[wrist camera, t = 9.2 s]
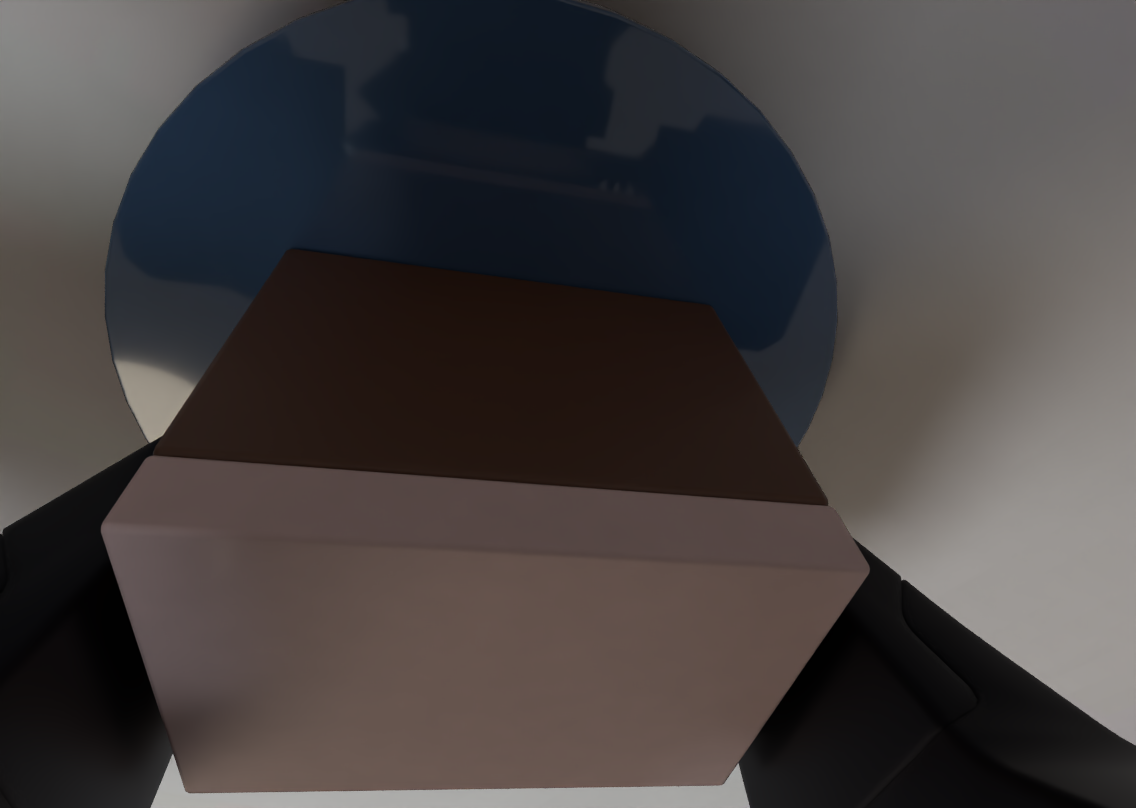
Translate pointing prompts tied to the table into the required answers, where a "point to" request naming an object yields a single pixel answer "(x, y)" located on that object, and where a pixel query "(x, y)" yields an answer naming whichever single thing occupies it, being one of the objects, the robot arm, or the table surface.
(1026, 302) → the table surface
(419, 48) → the plate
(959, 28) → the table surface
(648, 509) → the cake slice
